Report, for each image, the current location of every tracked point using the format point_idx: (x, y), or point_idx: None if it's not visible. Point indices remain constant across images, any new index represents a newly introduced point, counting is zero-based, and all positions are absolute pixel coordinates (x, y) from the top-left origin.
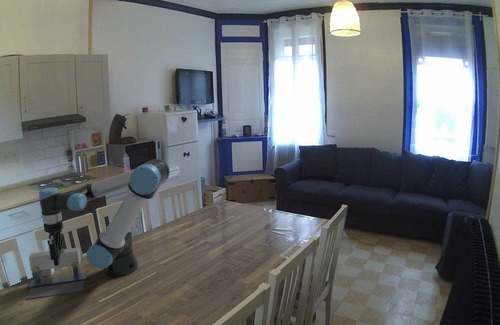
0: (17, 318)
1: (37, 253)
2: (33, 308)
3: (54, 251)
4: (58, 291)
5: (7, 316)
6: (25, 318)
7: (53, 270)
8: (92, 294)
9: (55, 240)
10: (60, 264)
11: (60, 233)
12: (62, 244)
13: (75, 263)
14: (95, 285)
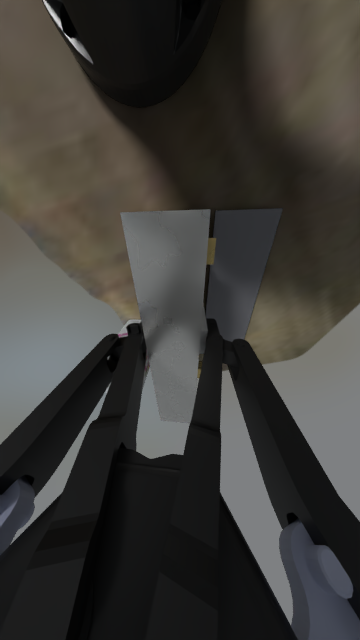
0: (310, 342)
1: (168, 410)
2: (290, 324)
3: (273, 395)
4: (246, 286)
5: (288, 357)
6: (323, 329)
7: (133, 321)
8: (339, 142)
9: (231, 515)
10: (202, 311)
11: (27, 595)
12: (97, 353)
13: (215, 240)
14: (265, 146)
